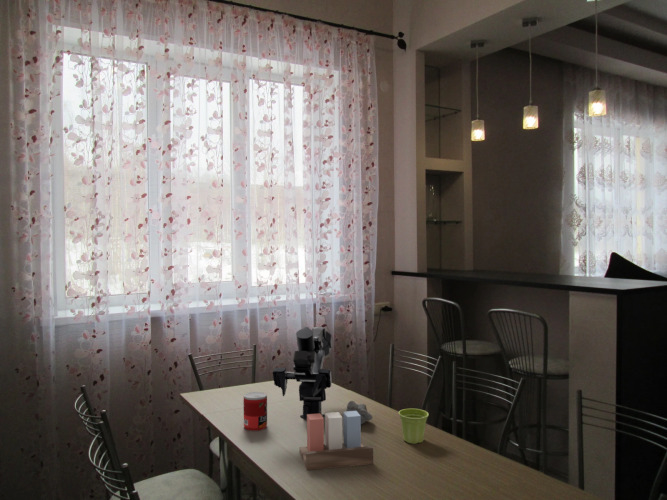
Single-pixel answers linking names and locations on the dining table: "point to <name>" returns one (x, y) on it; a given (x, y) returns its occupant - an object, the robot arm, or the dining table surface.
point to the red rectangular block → (315, 432)
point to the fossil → (359, 410)
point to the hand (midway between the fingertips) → (297, 395)
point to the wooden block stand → (336, 457)
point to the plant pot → (413, 424)
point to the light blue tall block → (351, 429)
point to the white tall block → (333, 430)
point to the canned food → (255, 411)
